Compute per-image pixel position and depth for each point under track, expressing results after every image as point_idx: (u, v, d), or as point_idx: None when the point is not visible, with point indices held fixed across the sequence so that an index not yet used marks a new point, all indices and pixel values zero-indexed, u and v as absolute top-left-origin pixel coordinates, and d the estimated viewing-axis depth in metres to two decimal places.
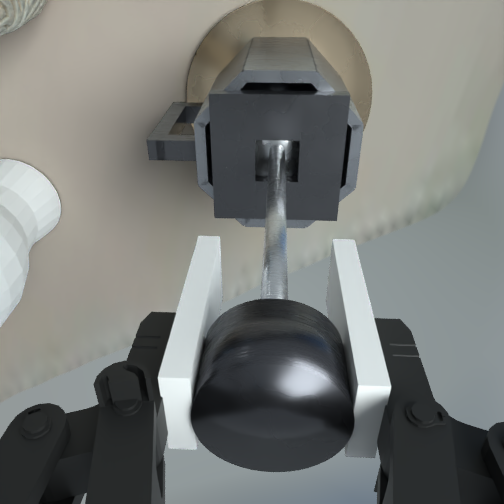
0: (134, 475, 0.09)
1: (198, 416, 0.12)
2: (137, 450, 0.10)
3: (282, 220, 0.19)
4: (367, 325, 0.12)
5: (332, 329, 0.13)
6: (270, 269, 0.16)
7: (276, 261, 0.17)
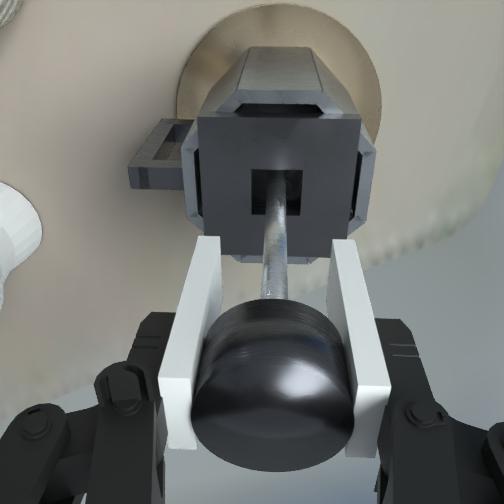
0: (134, 475, 0.09)
1: (198, 416, 0.12)
2: (137, 450, 0.10)
3: (282, 220, 0.19)
4: (367, 325, 0.12)
5: (332, 329, 0.13)
6: (270, 269, 0.16)
7: (276, 261, 0.17)
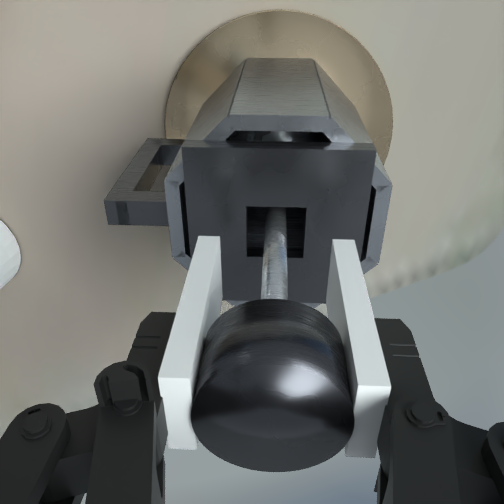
0: (134, 475, 0.09)
1: (198, 416, 0.12)
2: (137, 450, 0.10)
3: (282, 220, 0.19)
4: (367, 325, 0.12)
5: (332, 329, 0.13)
6: (270, 269, 0.16)
7: (276, 261, 0.17)
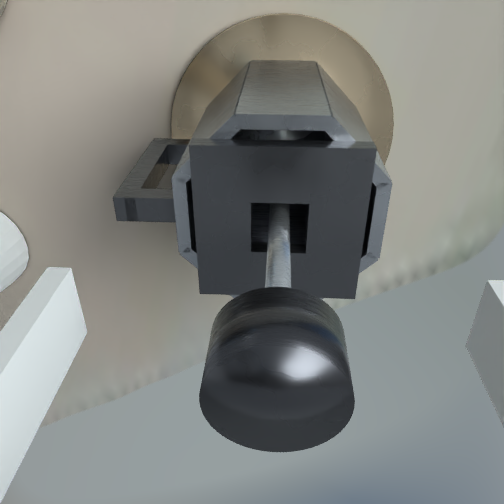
0: None
1: (206, 396, 0.12)
2: None
3: (285, 216, 0.20)
4: None
5: (334, 316, 0.13)
6: (274, 261, 0.17)
7: (280, 254, 0.17)
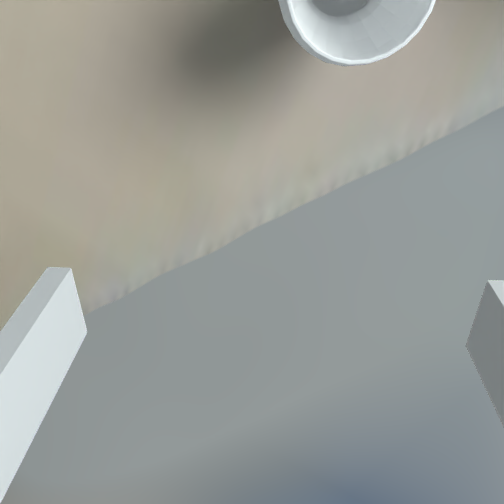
0: None
1: None
2: None
3: None
4: None
5: None
6: None
7: None
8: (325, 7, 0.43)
